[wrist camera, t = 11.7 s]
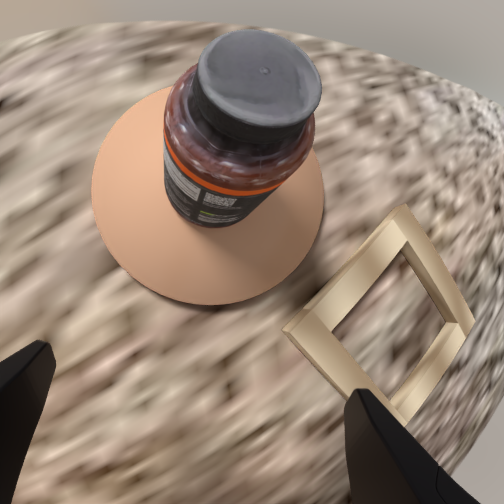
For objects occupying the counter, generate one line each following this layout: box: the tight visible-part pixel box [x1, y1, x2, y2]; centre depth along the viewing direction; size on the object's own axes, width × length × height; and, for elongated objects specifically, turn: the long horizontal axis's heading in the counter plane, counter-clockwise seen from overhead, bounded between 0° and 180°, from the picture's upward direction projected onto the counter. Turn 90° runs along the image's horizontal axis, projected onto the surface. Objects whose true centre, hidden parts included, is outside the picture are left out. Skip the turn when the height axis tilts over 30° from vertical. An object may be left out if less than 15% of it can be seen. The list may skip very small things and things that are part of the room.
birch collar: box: [282, 204, 475, 427], centre depth 22 cm, size 13×13×2 cm
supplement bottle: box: [163, 29, 322, 228], centre depth 14 cm, size 6×6×11 cm
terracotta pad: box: [91, 86, 324, 305], centre depth 20 cm, size 15×15×1 cm
